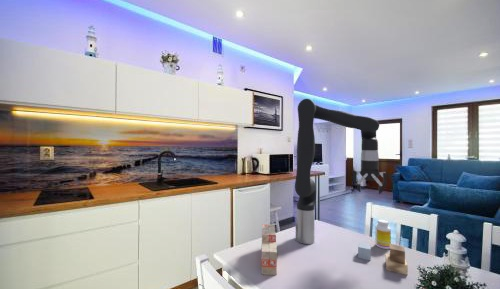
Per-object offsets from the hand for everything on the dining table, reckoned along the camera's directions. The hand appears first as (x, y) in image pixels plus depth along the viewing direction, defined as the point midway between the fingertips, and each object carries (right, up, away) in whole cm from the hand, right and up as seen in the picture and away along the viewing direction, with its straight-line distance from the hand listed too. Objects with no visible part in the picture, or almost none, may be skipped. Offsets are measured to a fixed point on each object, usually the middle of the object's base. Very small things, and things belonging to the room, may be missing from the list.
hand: (369, 192), depth 105 cm
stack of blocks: (-50, -28, -10) cm, 58 cm away
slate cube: (-6, -28, -6) cm, 29 cm away
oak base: (+3, -28, -15) cm, 32 cm away
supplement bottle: (+9, -28, +4) cm, 30 cm away
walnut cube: (+3, -24, -16) cm, 29 cm away
